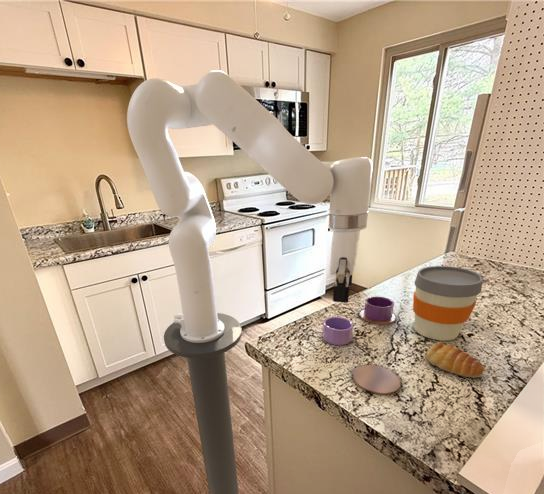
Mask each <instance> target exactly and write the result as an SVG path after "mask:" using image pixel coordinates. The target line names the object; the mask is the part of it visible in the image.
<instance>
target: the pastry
mask: <svg viewBox="0 0 544 494" xmlns="http://www.w3.org/2000/svg"><path fill="white" fill-rule="evenodd" d="M425 358H426V360H427V361H428V362H429V363H430V364H431V365H433V366H436V367H438V368H439V369H440V370H443V371H445V372H449V373H451V374H455V375H457V376H459V377H460V376H461V377H465V378H473V379H475V378H480V377H481V376H482V375H483V373H484V372H485V367H484V366H483V365H482V363H481V362H480V361H478V360H477V358H475V357H473V356H471V355H470V353H468V352H464V351H463V350H462V349H461V348H460V347H455V346H454V345H452V344H444V343H443V342H442V341H441V342H440V341H437V342H435V343H434V344H433V345H432V346H431V347H430V348H429V350H428V351H427V353H426V355H425Z"/></svg>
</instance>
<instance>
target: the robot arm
mask: <svg viewBox="0 0 544 494" xmlns="http://www.w3.org/2000/svg"><path fill="white" fill-rule="evenodd" d="M126 123H127V130H128V134H129V137H130V140H131V143H132V146H133V148H134V150H135V153H136V155H137V157H138V159H139V162H140V164H141V166H142V169H143V172H144V175H145V176H146V181H147V183H148V185H149V187H150V190H151V192H152V195H153V198H154V200H155V202H156V205H157V207H158V208H159V210H160V211H161V212H162V214H164V215H165V216H167V217H171V218H172V217H173V218H175V217H176V218H177V219H178V221H179V222H178V223H177V224H175V226H174V227H173V228H172V229H171V231H170V234H169V237H168V249H169V252H170V256H171V259H172V262H173V265H174V269H175V274H176V280H177V285H178V292H179V298H180V305H181V311H182V313H178V312H175V314H174V317H173V318H174V319H173V323H176V324H181V325H182V327H181V329H180V333H181V336H182V338H183V339H184V340H186V341H189V342H193V343H204V342H209V341H212V340H215V339H217V338H218V337H220V336H221V335H222V334H223V332H224V324H223V323H222V321H220V320H218V315H217V313H218V307H217V298H216V288H215V287H216V286H215V278H214V271H213V265H212V260H211V257H210V252H209V247H210V246H211V245H212V243H213V242H214V240H215V238H216V236H217V225H216V221H215V218H214V215H213V212H212V209H211V206H210V204H209V203H210V202H209V201H208V198H207V195H206V192H205V189H204V187H203V185H202V183H201V182H200V180H199V179H198V177H196V176H195V175H194V174H193V173H190V172H187V171H184V168H183V166H182V163H181V161H180V158H179V154H178V152H177V149H176V148H175V146H174V143H173V141H172V140H171V138H170V135H169V131H168V130H169V129H170V130H184V129H191V128H199V127H207V126H214V127H215V128H217V129H218V130H219V131H220V132H221V133H223V134H224V135H225V136H226V137H227V138H228V139H229V140H230V141H232V142H233V143H234V145H236V146H237V147H238V148H239V149H241V151H243V152H244V153H245V154H246V155H247V156H249V158H250V159H251V160H252V161H254V162H255V163H256V164H257V165H259V166H260V167H261V168H262V169H263V170H264V171H265V172H266V173H267V174H269V176H271V177H272V178H273V179H274V180H275V181H276V182H277V183H278V184H279V185H280V186H281V187H283V188H284V189H285V190H286V191H287V192H288V193H289V194H290V195H292V196H293V197H294V198H295V199H297V200H298V201H299V202H301V203H303V204H306V205H317V204H320V203H322V202H323V201H325V200H326V199H327V198H328V197H329V213H328V215H329V217H328V229H329V230H330V231H332V236H331V237H332V239H331V247H330V248H331V250H330V260H329V261H330V262H329V274H330V276H332V275H335V278H334V279H335V280H334V284H333V291H332V292H333V293H332V301H333V302H335V303H346V304H347V303H349V299H350V298H349V297H350V289H351V288H350V286H352V284H353V274H354V271H355V267H356V264H357V257H358V252H359V245H360V244H359V243H360V234H361V231H362V230H365V229H366V228H367V225H368V214H369V205H370V195H371V194H370V193H371V185H372V174H373V162H372V160H371V159H370V158H368V157H366V156H365V157H363V156H362V157H350V158H343V159H339V160H335V161H321V160H320V159H319V158H318V157H317V156H315V155H314V154H313V153H312V152H311V151H310V150H309V149H307V148H306V147H305V146H304V145H303V144H302V143H301V142H300V141H299V140H298V139H297V138H295V136H293V135H292V134H291V133H290V132H289V131H288V130H287V128H286V127H285V126H284V124H283V123H282V122H281V121H280V120H279V119H278V118H277V117H276V116H275V115H274V114H273V113H272V112H270V111H269V110H268V109H267V108H266V107H265V106H264V105H262V104H261V103H260V102H259V100H257V99H256V98H255V97H253V96H252V95H251V94H250V93H249V92H248V91H247V90H246V89H245V88H244V87H242V85H241V84H239V82H237V81H236V80H235V79H234V78H233V77H231V76H230V75H229V74H228V73H226V72H224V71H223V70H219V69H218V70H215V69H214V70H210V71H208V72H206V73H205V74H203V76H202V77H201V78H200V79H199V81H198V83H197V84H189V85H183V86H178V85H176V84H174V83H172V82H170V81H168V80H166V79H163V78H154V77H153V78H148V79H146V80H144V81H142V82H141V83H140V84H139V85H137V87H136V88H135V90H134V91H133V93H132V95H131V96H130V100H129V103H128V106H127V112H126Z"/></svg>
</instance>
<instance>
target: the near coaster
mask: <svg viewBox="0 0 544 494" xmlns="http://www.w3.org/2000/svg"><path fill="white" fill-rule="evenodd" d="M352 380H353V381H354V383H355V384H356V385H357V386H358V387H359V388H361V389H362V390H364V391H366V392H369V393H372V394H375V395H391V394H394V393H396V392H398V391H399V390H400V388H401V386H402V383H401V380H400V378H399V376H398V375H397V374H396V373H395V372H394V371H392V370H390V369H388V368H386V367H383V366H380V365H375V364H364V365H363V364H362V365H360V366H357V367H356V368H354V370H353V371H352Z"/></svg>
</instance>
